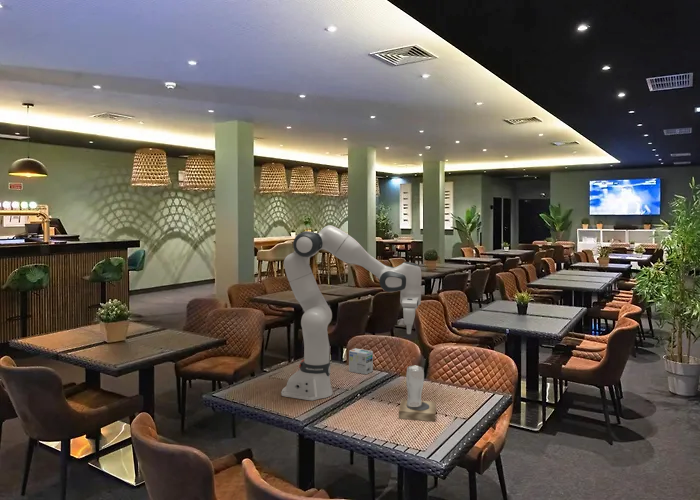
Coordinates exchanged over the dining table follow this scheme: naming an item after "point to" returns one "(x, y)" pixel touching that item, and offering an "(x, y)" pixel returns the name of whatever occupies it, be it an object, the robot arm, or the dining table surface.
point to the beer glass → (414, 385)
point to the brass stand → (418, 411)
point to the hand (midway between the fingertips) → (409, 331)
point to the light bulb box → (360, 361)
